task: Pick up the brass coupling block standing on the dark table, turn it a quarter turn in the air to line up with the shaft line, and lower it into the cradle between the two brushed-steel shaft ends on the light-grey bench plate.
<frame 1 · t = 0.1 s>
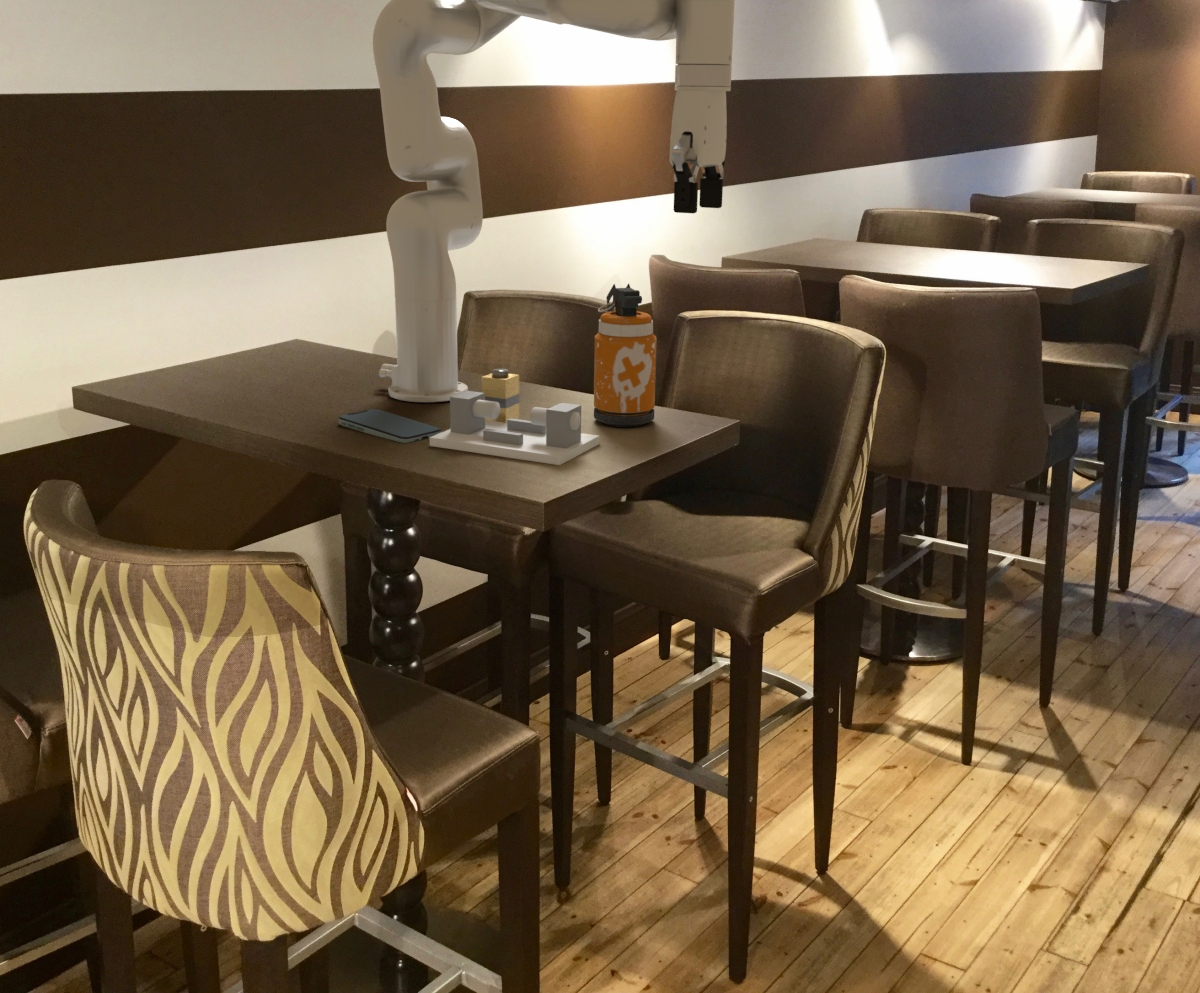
hand: (698, 210, 176), 31 cm above the table, fingers open, 9 cm apart
canister: (621, 421, 190), on the table
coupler: (500, 422, 187), on the table
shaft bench: (515, 444, 175), on the table
smartphone: (389, 433, 183), on the table
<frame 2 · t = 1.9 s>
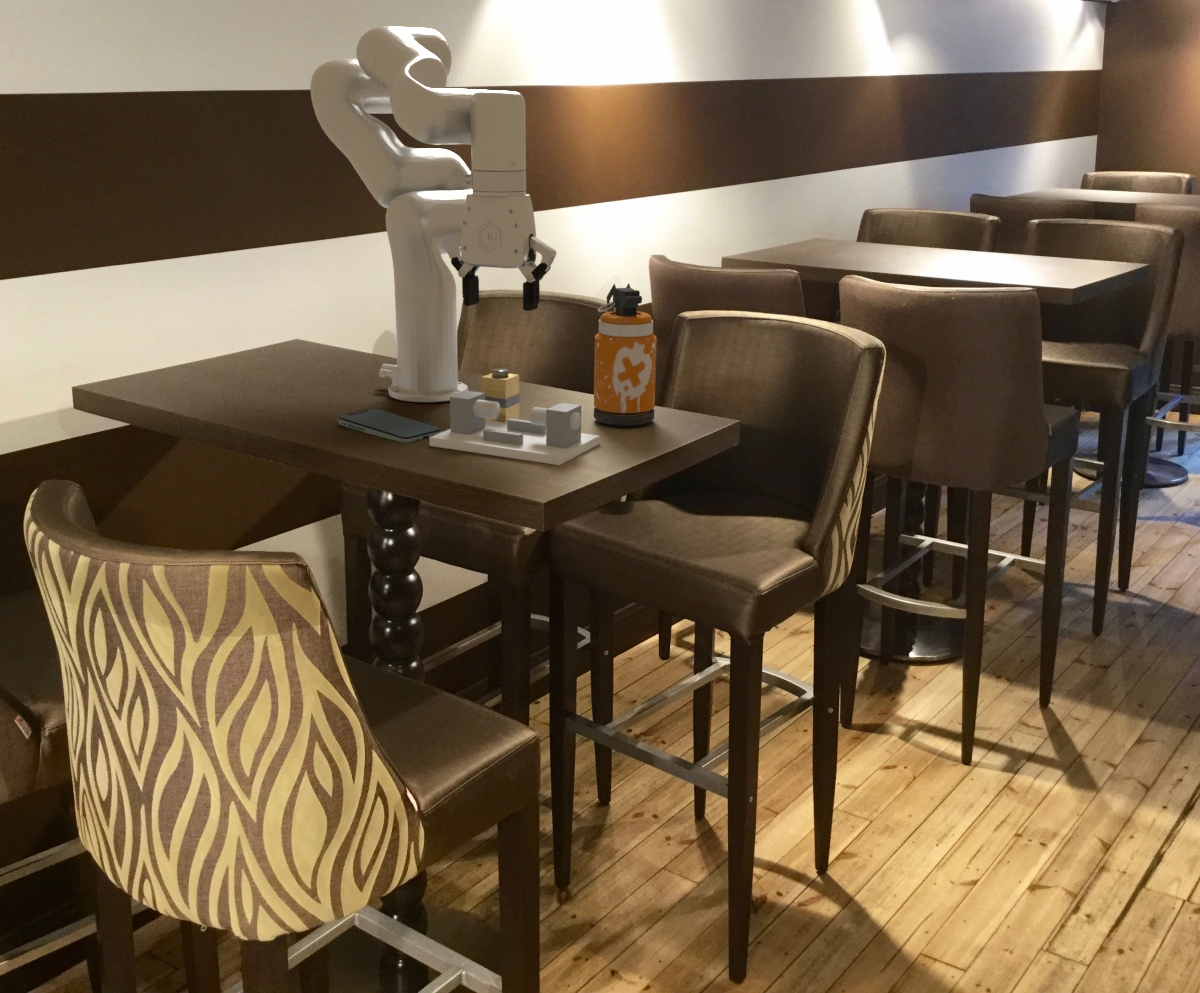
hand: (500, 307, 182), 17 cm above the table, fingers open, 9 cm apart
nothing on the table moved.
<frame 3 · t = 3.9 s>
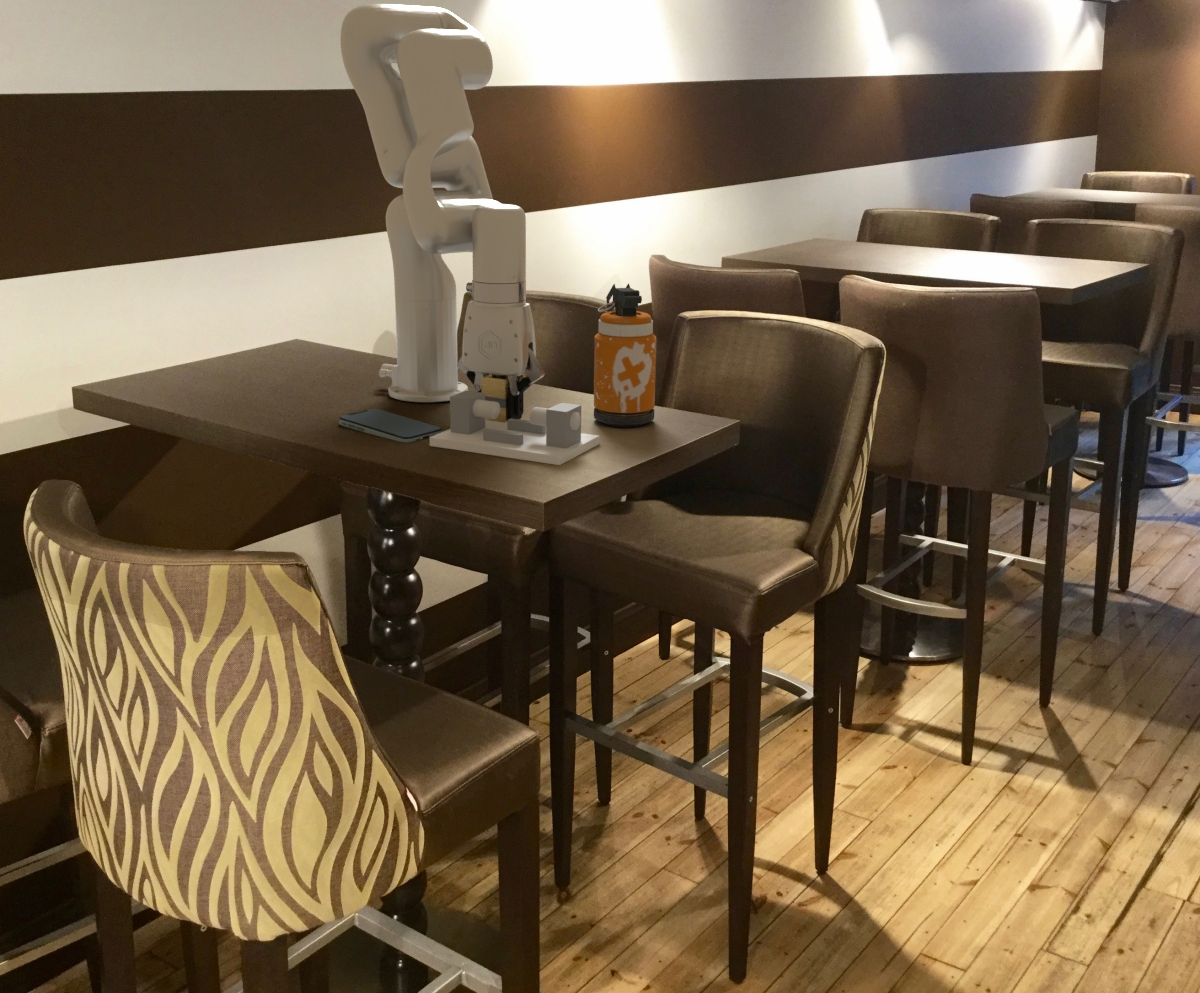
hand: (500, 416, 187), 1 cm above the table, fingers closed on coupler, 4 cm apart
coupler: (500, 422, 187), on the table, touching gripper
everything else where it was.
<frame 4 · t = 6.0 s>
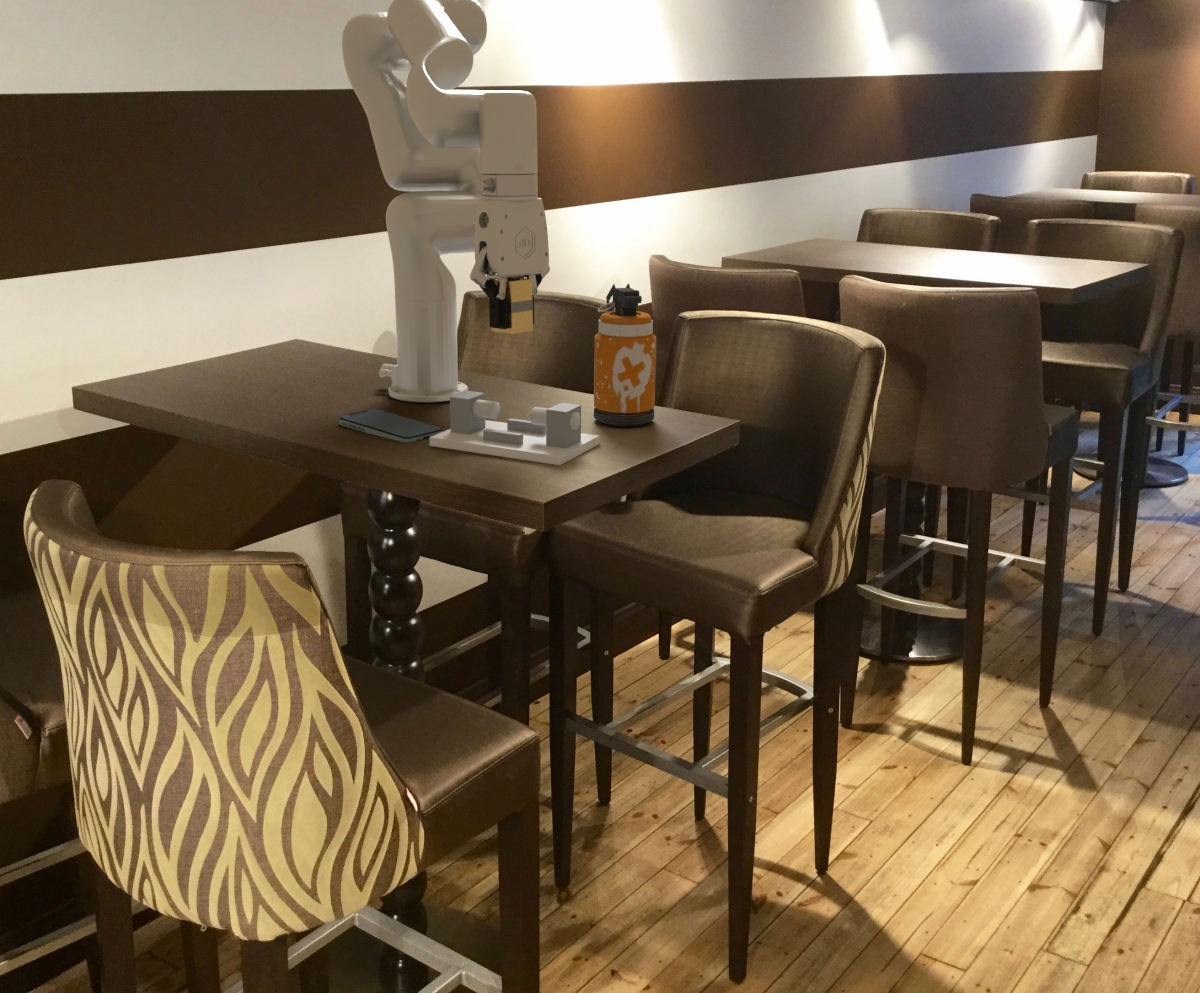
hand: (512, 324, 174), 16 cm above the table, fingers closed on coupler, 4 cm apart
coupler: (512, 330, 174), point 15 cm above the table, touching gripper
everything else where it was.
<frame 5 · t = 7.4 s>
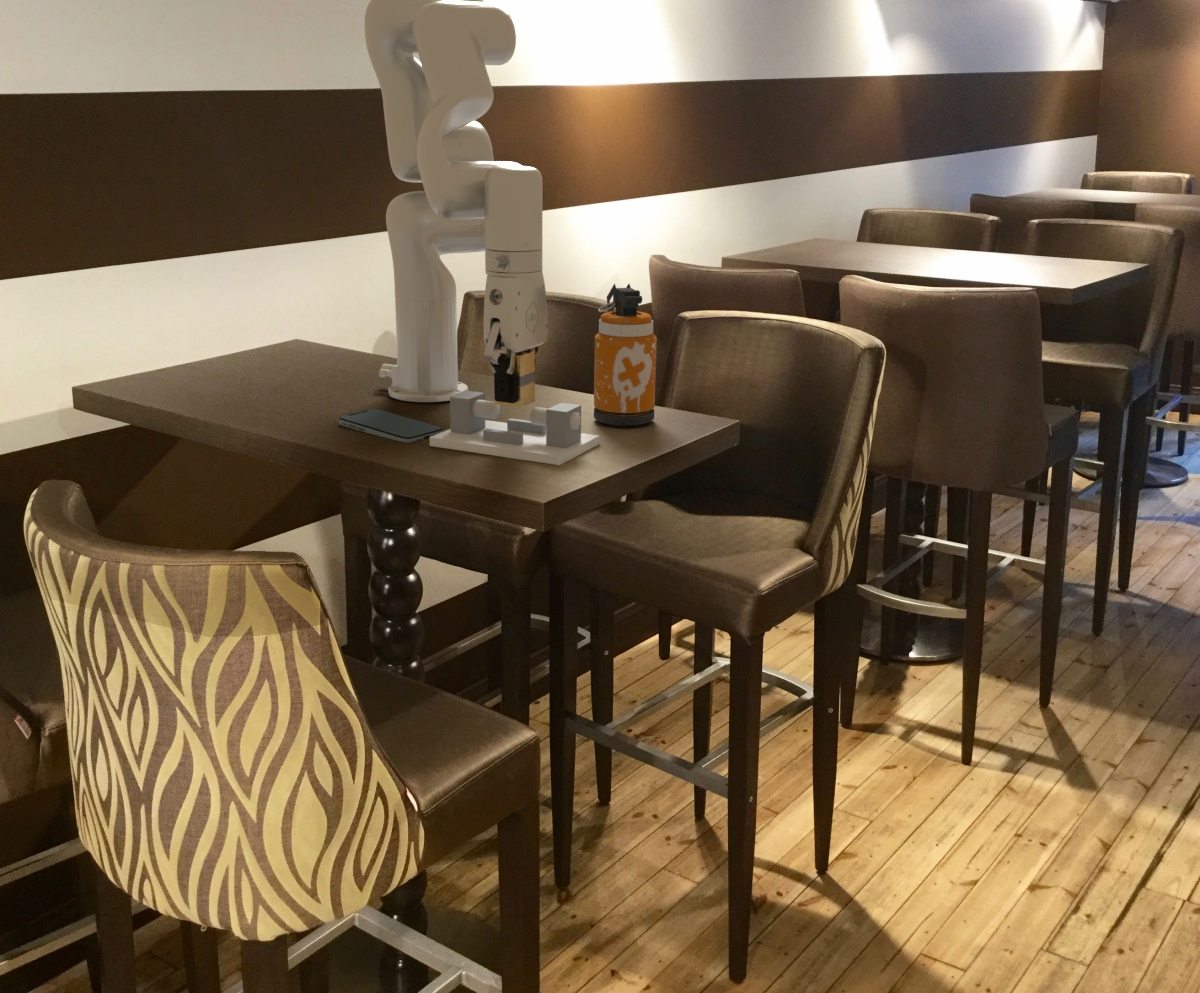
hand: (514, 396, 173), 7 cm above the table, fingers closed on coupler, 4 cm apart
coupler: (514, 402, 174), point 6 cm above the table, touching gripper
everything else where it was.
when the fingers open (4 cm above the table, at t = 8.3 s): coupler drops 2 cm, resting on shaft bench.
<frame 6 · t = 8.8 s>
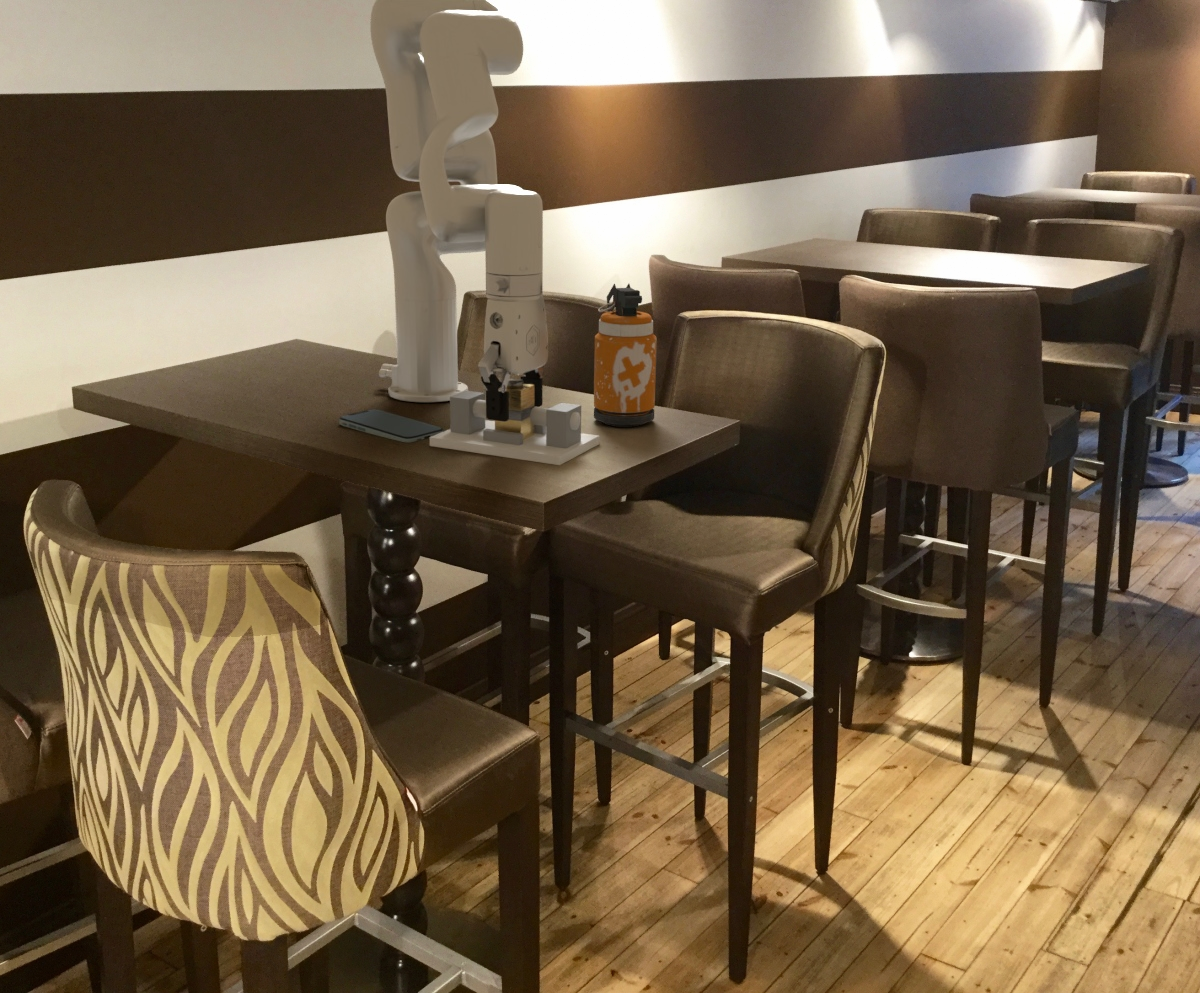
hand: (514, 412, 174), 5 cm above the table, fingers open, 9 cm apart
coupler: (514, 436, 175), point 1 cm above the table, touching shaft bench
everything else where it was.
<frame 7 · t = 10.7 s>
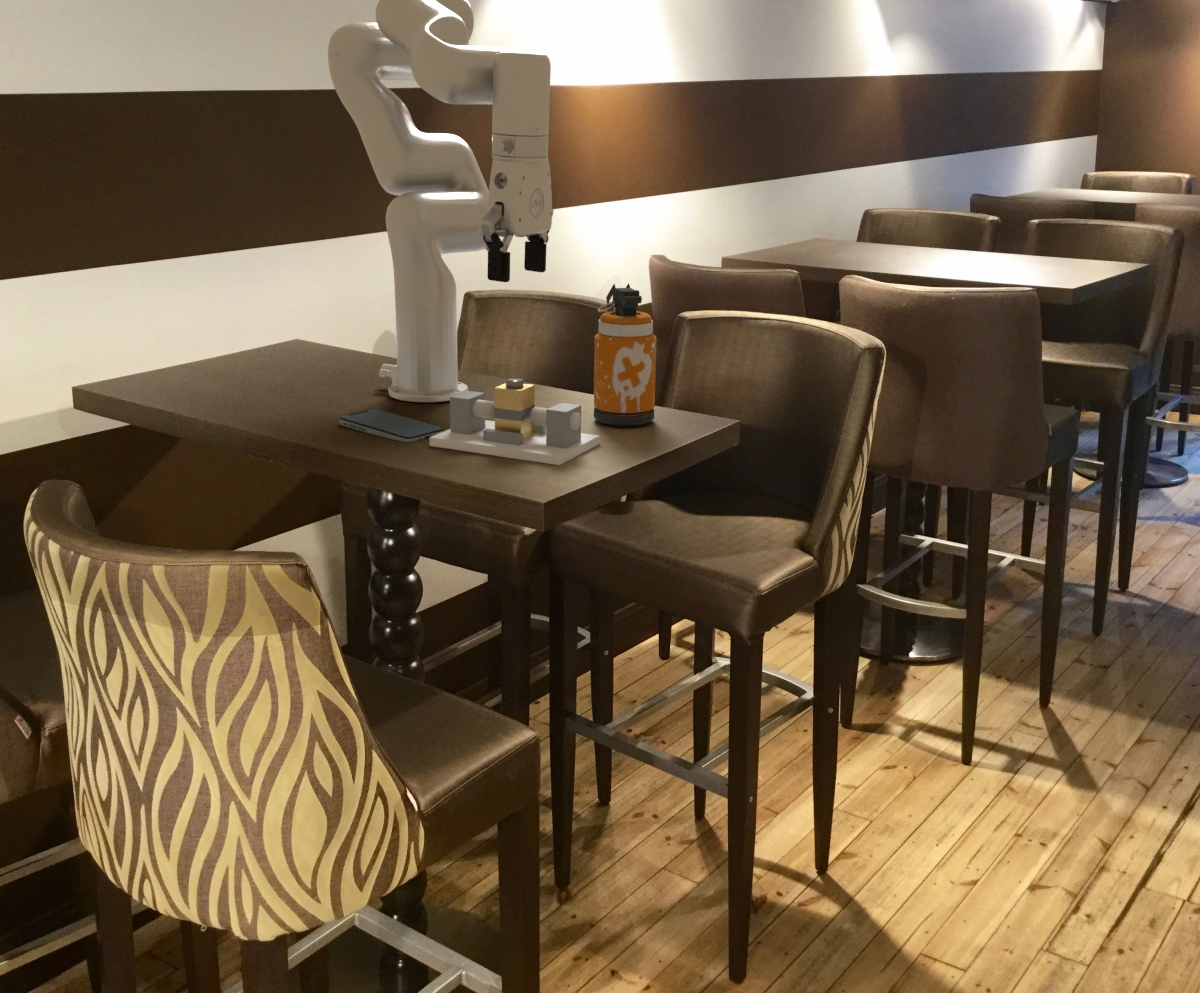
hand: (517, 275, 176), 22 cm above the table, fingers open, 9 cm apart
nothing on the table moved.
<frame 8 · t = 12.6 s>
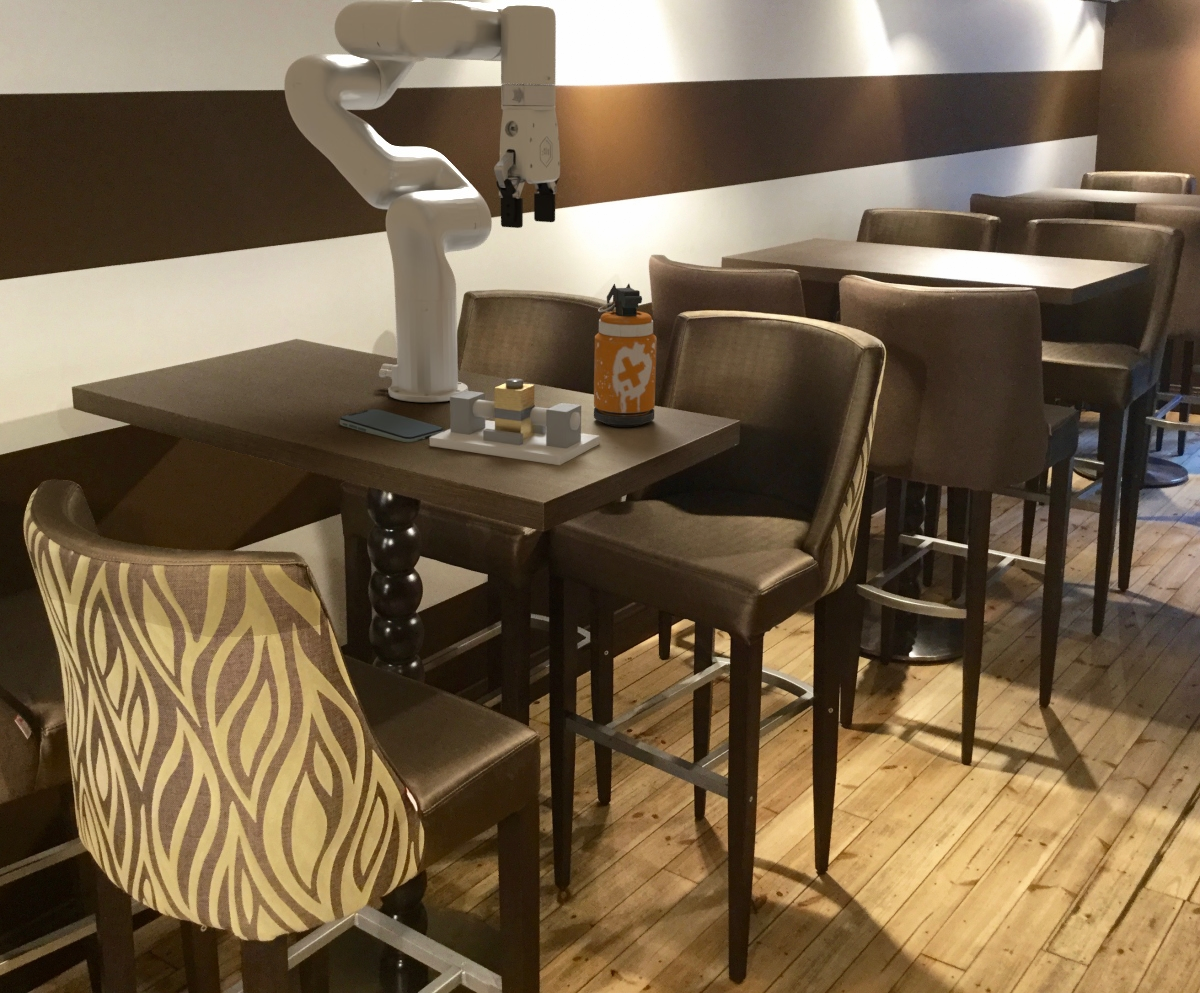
hand: (528, 224, 182), 28 cm above the table, fingers open, 9 cm apart
nothing on the table moved.
at the end: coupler 0.1 cm off-centre on the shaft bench, point 1.2 cm above the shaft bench's base; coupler tilted 0°; the gripper is holding nothing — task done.
